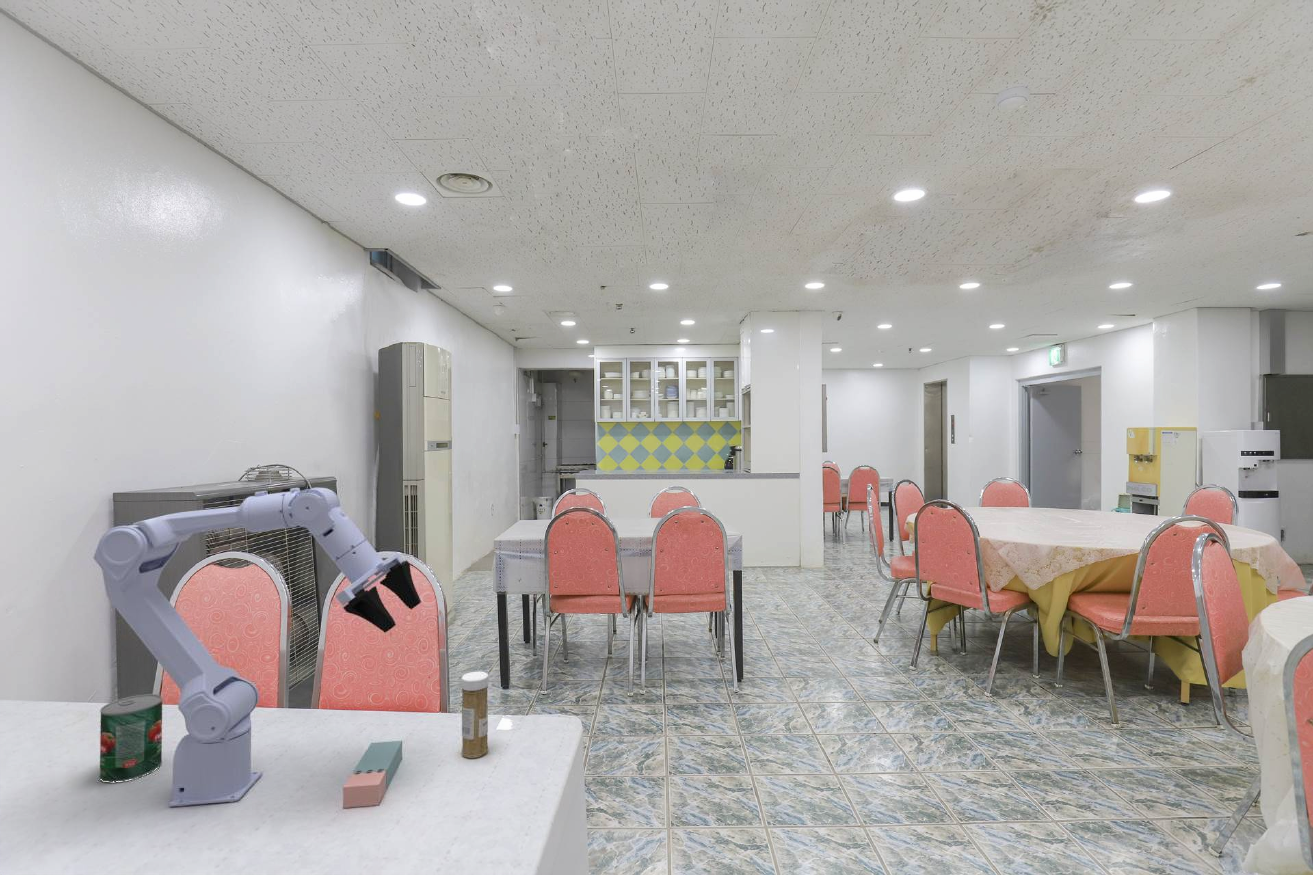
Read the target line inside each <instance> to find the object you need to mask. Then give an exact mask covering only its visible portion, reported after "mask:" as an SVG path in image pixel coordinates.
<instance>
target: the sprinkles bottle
mask: <svg viewBox="0 0 1313 875" xmlns="http://www.w3.org/2000/svg"><path fill="white" fill-rule="evenodd" d="M489 680H490V679H489V673H487V672H485V671H472V672H471V671H470V672H468V673H465V674H463V675H462V676H461V682H460V683H461V684H460V685H461V686H460V687H461V691H462V692H461V694H462V696H461V698H462V701H461V703H462V704H461V737H462V739H461V740H462V741H461V742H462V746H461V747H462V750H461V755H462V756H463V757H464V758H468V759H477V758H481V757H483V756H485V755H486V754H487V753H488V751H489V745H488V743H489V742H488V739H489V738H488V732H489V728H488V727H489V723H488V722H489V721H488V719H489V718H488V717H489V716H488V714H489V712H488V709H489V708H488V707H489V705H488V687H489V682H490V681H489Z"/></svg>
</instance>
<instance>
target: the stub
mask: <svg viewBox="0 0 1313 875" xmlns="http://www.w3.org/2000/svg"><path fill="white" fill-rule="evenodd" d="M386 791H387V790H386V771H376V772H363V773H353V772H352V773H351V774H350V775H349V777H348V779H347V780H346V782H345V784H344V785H343V786H342V809H346V808H347V809H348V808H359V807H368V806H378V805H380V803H381V802H382V799H383V797H384V795H385V793H386Z"/></svg>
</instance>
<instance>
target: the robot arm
mask: <svg viewBox="0 0 1313 875" xmlns="http://www.w3.org/2000/svg"><path fill="white" fill-rule="evenodd" d="M340 506H341V503H340V498H339V496H338V494H336V492H335V491H333V490H331V489H329V488H328V487H327V488H326V487H317V486H316V487H312V488H309V489H304V490H301V488H300V487H293V488H292V487H291V488H290V489H289V491H283V492H276V493H268V490H263V491H256V492H254V495H252V496H248V497H246V498H245V499H244V500H243V501H242V502H241V504H240V505H239V506H231V507H220V508H219V507H218V508H209V509H199V510H192V511H191V510H189V511H182V512H181V511H180V512H176V513H170V514H165V515H161V516H157V517H152V518H149V519H145V520H140V521H137V522H133V523H132V524H130V525H119V526H115V527H112V528H110V529H109V530H107V531H106V532H105V533H104V534H103V535H102V536H101V537H100V540H99V542H98V544H97V547H96V550H95V553H94V554H93V560H94V561H95V563H96V564H97V565H98V566H99V567H100V569H101V572H102V577H103V582H104V586H105V593H106V596H107V598H108V601H109V602H111V604H112V606H114V608H115V609H116V610H117V612H118V613H119V615H120V616H121V617H122V618H123V620H124V621H126V623H127V624H128V625H129V627H130V628H131V629H132V631H133V632H134V633H135V634H136V636H137V637H138V638H139V639H140V641H141V642H142V643H143V644H144V645H145V647H146V649H148V651H149V652H150V653H151V655H153V658H155V659H156V661H157V662H158V663H159V665H161V667H162V668H163V669H164V671H165V672H166V673H167V675H168V676H169V677H170V678H171V680H173V682H174V683H175V684H176V685H177V687H178V688H179V690H180V695H179V700H178V706H177V709H178V711H179V712H180V713H181V714H182V715H183V718H184V721H185V722H184V723H185V728H186V729H185V730H186V731H187V733H188V734H186V735H184V736H183V737H182V738H181V739H180V740H179V742H178V744H177V746H176V748H175V750H174V754H173V760H172V788H171V789H172V790H171V792H172V795H171V798H172V800H171V801H170V802H169V803H168V805H169V807H181V806H193V805H204V804H216V803H227V802H230V803H231V802H236V801H239V800H240V799H241V798H242V797H243V796H244V795H245V794H246V793H247V791H248V790H250V788H251V787H252V786H253V785H254V784H255V783H256V782H257V780H259V778H260V777H261V776H262V774H263V772H262V771H251V770H252V720H251V713H253V711H254V710H255V709H256V708H257V705H258V704H259V699H260V692H259V690H258V688H257V686H256V684H254V682H252V681H251V680H248V679H246V678H243V677H242V676H241V675H239V673H238V672H236V670H235V669H234V668H232V667H231V668H230V667H227V666H224V665H220V664H219V663H218V662H217V661H216V659H215V658H214V657H213V656H212V654H211V652H209V651H208V649H207V648H206V647H205V646H204V644H203V643H202V642H201V641H200V639H199V638H198V637H197V635H196V634H195V633H194V632H193V630H192V629H191V628H190V626H189V625H188V624H187V623H186V622H185V620H184V619H183V618H182V616H181V615H180V614H179V612H178V611H177V610H176V608H174V606H173V605H172V603H171V602H170V601H169V600H168V599H167V597H166V595H164V594H163V592H162V591H161V590H160V588H159V587H158V582H159V580H160V578H161V574H162V572H163V570H164V569H165V567H166V566H167V564H168V563H169V562H170V560H171V559H172V558H173V557H174V556H175V554H176V553H177V551H178V549H179V548H180V546H181V543H182V542H185V541H188V540H189V539H190V538H191V536H192V535H193V534H197V533H204V532H209V531H217V530H221V529H227V528H228V529H229V528H236V527H242V528H243V529H245V530H246V531H248V532H249V533H252V534H253V533H254V534H255V533H260V532H261V533H262V532H269V531H274V530H275V531H276V530H282V529H291V528H296V527H301V528H306V529H307V530H308V532H310V534H311V535H312V537H313V538H314V539H315V540H316V542H317V543H318V544H319V545H320V547H321V548H322V549H323V550H324V551H325V553H326V554H327V555H328V556H329V558H330V559H331V560H332V561H333V563H334V564H335V565H336V567H337V568H338V569H339V570H340V571H341V573H342V574H343V575H344V576H345V577H346V579H347V580H348V581H349V583H350V585H347V587H346V588H344V589H343V590H341V591H340V592H339V593H338V594H336V595H335V596H334V597H335V598H336V599H337V600H338V602H339V604H341V605H342V606H343V607H342V608H343V610H344V611H345V612H346V613H349V614H351V615H355V616H357V617H359V618H361V619H363V620H366V621H367V622H369V623H371V624H372V625H374V627H376V628H378V629H379V630H381V631H382V632H383V633H387V632H388V631H391V629H393V628H394V627H395V626H397V624H396V622H395V619H394V618H393V616H392V615H391V614H390V612H389V611H388V609H387V608H386V606H385V605H384V603H383V602H382V599H381V596H380V595H379V591H378V589H377V586H375V585H374V586H373V587H371V586H372V585H373V584H374V583H376V582H377V581H379V580H380V579H381V578H383V577H384V576H385V577H384V578H383V579H381V580H380V581H379V584H380V585H382V586H384V587H386V588H387V589H389V590H390V591H391V592H392V593H393V594H395V596H396V597H398V598H399V600H400V601H401V602H402V603H403V604H404V605H405V606H406V607H407V608H408V609H409V610H413V609H414V608H416V607H417V606H418V605H420V604H421V603H422V600H421V598H420V597H419V594H418V591H417V589H416V586H415V583H414V582H413V581H414V580H413V576H412V573H411V563H410V562H409V561H408V560H405V559H404V558H403V557H402V556H401V555H400V553H399V552H395V553H394V554H393V555H392V554H391V556H390V557H388V558H385V559H383V558H382V556H380V555H379V553H378V552H377V550H375V548H374V547H373V546H372V545H371V543H370V542H369V541H368V540H367V538H366V536H364V534H363V533H362V532H361V530H359V528H358V527H357V526H356V525H355V523H354V522H353V521H352V519H351V518H350V517H349V516H348V515H347V514H346V512H344V510H343V509H342V508H341V507H340ZM374 576H376V577H375V578H373V579H372V580H371V581H370V578H372V577H374ZM369 587H371V588H370V589H369Z"/></svg>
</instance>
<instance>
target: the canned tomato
mask: <svg viewBox="0 0 1313 875" xmlns="http://www.w3.org/2000/svg"><path fill="white" fill-rule="evenodd" d="M163 699H164V698H163V696H162V695H160V694H154V693H153V694H151V693H147V694H138V695H133V696H127V697H124V698H123V697H122V698H120V699H117V700H114V701H112V702H108V703H106V704H105V705H103V706H102V707H101V708H100V712H99V713H100V721H99V723H100V725H99V727H100V730H99V733H100V734H99V735H100V736H99V739H100V740H99V743H100V745H99V750H100V751H99V754H100V755H99V777H100V779H102V780H103V781H109V782H113V781H114V782H116V781H125V780H129V779H134V780H136V779H135V778H137V777H141V776H143V775H145V774H147V773H150V772H152V771H154V770H155V769H156V768H158V767H159V766H160V765H161V766H162V764H163V760H162V755H163V754H162V753H163V752H162V751H163V750H162V749H163V747H162V746H163V745H162V744H163V736H162V735H163V731H162V730H163ZM161 763H162V764H161ZM161 766H160V767H161ZM160 767H159V768H160ZM159 768H158V769H159ZM155 771H156V770H155ZM155 771H154V772H155ZM152 773H153V772H152ZM150 774H151V773H150ZM143 777H144V776H143ZM141 778H142V777H141ZM100 779H99V780H100Z"/></svg>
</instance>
